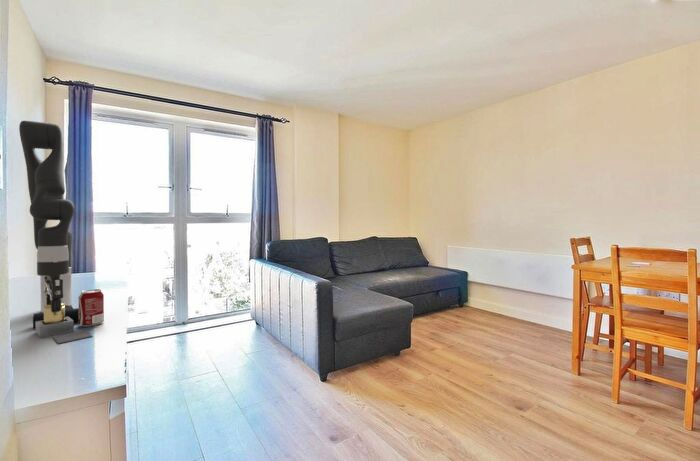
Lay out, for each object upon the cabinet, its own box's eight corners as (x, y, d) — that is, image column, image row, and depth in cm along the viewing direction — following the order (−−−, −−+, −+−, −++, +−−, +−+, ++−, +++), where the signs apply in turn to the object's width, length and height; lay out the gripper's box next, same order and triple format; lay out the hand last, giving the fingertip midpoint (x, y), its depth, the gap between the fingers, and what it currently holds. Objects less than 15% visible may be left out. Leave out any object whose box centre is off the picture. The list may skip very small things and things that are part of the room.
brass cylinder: (42, 332, 102) (42, 304, 102) (63, 328, 106) (63, 301, 106) (45, 335, 99) (45, 307, 99) (66, 331, 103) (66, 304, 103)
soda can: (107, 323, 111) (107, 290, 111) (84, 329, 105) (84, 293, 105) (98, 320, 115) (97, 288, 114) (75, 325, 109) (74, 291, 108)
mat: (52, 338, 97) (52, 336, 97) (85, 331, 103) (85, 330, 103) (57, 344, 92) (57, 342, 92) (92, 336, 98) (92, 335, 98)
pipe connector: (36, 307, 113) (90, 301, 123) (36, 322, 113) (90, 314, 123) (32, 315, 104) (91, 307, 114) (33, 331, 104) (91, 322, 114)
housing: (35, 332, 102) (35, 321, 102) (68, 326, 108) (68, 316, 108) (39, 338, 97) (39, 326, 97) (73, 331, 103) (73, 320, 103)
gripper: (33, 259, 103) (34, 308, 104) (40, 262, 95) (41, 315, 95) (64, 257, 109) (64, 304, 109) (73, 260, 100) (73, 310, 100)
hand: (53, 309), depth 102 cm, fingers open, 8 cm apart
